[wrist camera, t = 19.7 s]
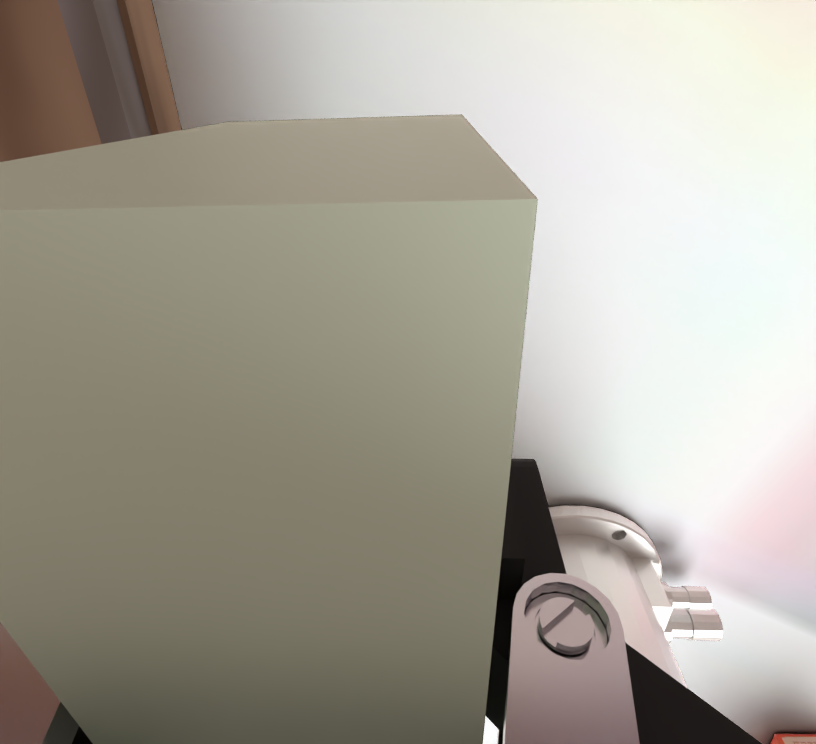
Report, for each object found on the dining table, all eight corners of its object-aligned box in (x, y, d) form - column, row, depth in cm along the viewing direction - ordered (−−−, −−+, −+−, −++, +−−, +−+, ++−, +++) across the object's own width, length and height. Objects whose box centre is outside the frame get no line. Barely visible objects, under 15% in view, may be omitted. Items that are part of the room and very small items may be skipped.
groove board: (145, -27, 18) (87, -51, 15) (229, 333, 26) (201, 365, 23) (-126, -13, 19) (-233, -34, 16) (31, 334, 26) (-21, 365, 23)
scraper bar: (461, 115, 8) (537, 198, 2) (450, 598, 15) (461, 955, 9) (228, 122, 8) (-310, 217, 2) (320, 595, 15) (242, 940, 9)
